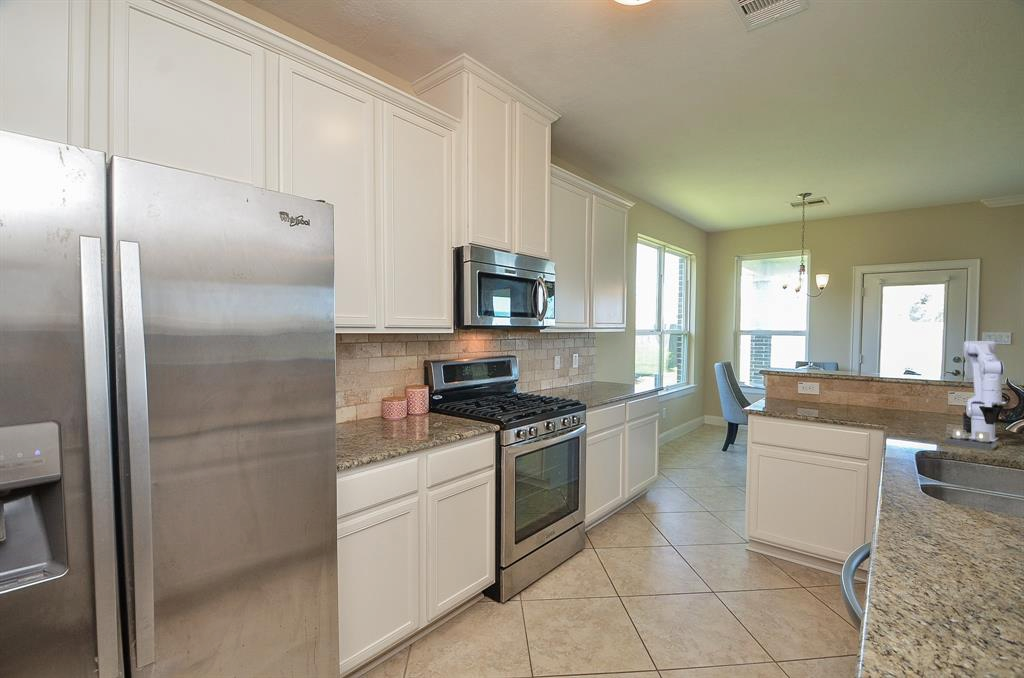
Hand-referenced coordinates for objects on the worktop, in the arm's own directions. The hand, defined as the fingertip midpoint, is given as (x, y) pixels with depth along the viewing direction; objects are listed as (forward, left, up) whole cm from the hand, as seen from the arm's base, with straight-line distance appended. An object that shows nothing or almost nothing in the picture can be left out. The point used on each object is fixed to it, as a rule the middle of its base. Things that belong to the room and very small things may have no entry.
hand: (991, 423), depth 183 cm
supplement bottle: (-35, -11, -10) cm, 38 cm away
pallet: (+8, -5, -9) cm, 13 cm away
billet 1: (+8, -8, -9) cm, 14 cm away
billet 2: (+8, -2, -9) cm, 12 cm away
